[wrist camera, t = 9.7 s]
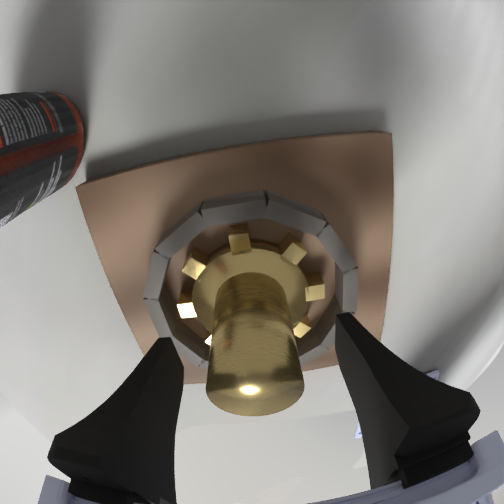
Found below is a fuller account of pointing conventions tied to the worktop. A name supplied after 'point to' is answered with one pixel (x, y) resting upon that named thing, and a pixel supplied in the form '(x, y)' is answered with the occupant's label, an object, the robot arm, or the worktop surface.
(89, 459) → the robot arm
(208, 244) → the collar board
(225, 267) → the planet gear
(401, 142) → the worktop surface
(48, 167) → the supplement bottle
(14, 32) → the worktop surface
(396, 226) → the worktop surface
